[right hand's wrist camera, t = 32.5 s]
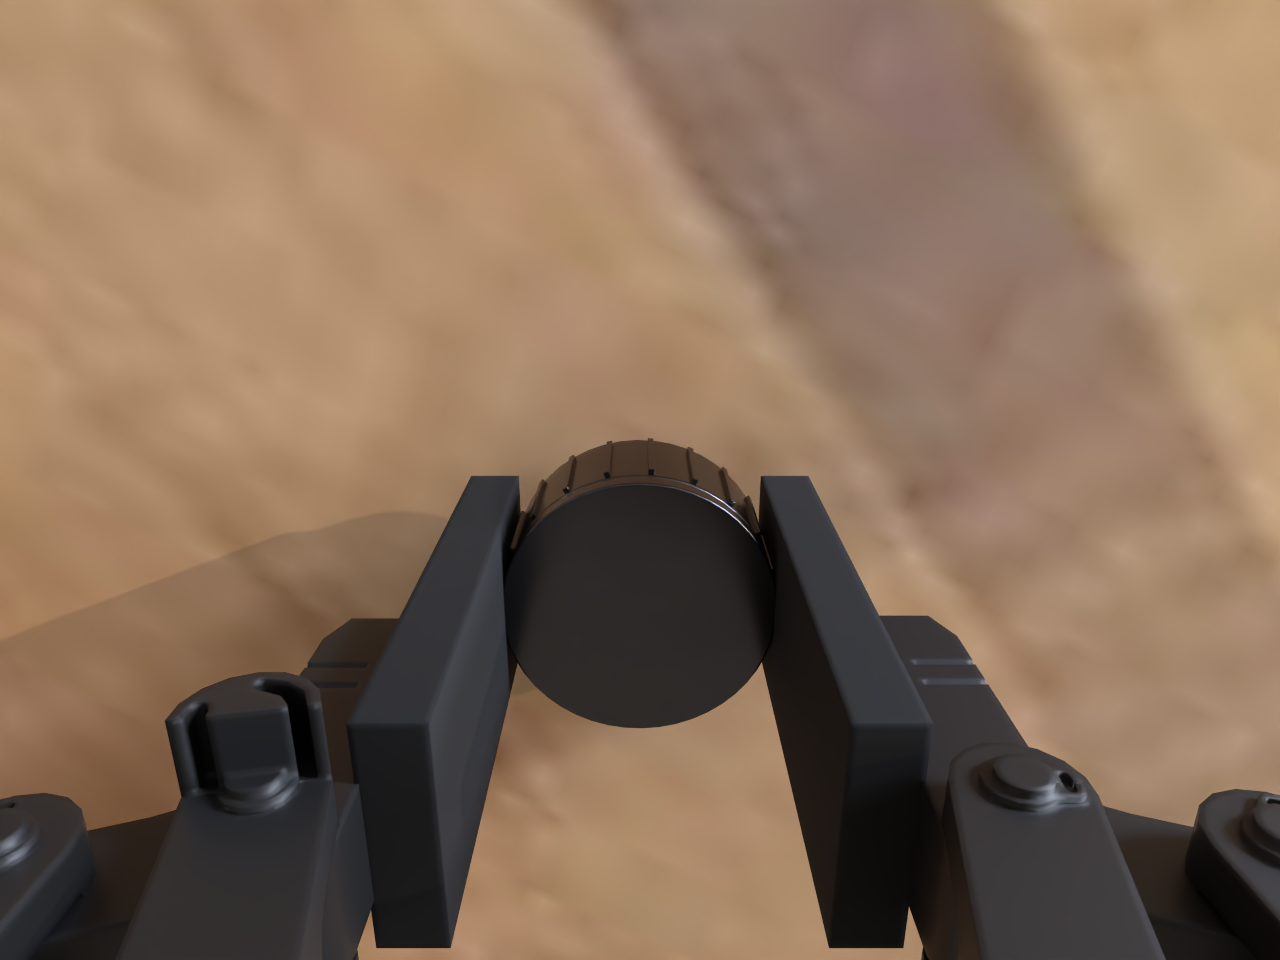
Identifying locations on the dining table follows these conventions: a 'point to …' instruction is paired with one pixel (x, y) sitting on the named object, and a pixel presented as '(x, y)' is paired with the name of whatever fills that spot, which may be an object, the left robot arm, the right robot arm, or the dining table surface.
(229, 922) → the right robot arm
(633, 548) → the cap
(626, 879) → the dining table surface
